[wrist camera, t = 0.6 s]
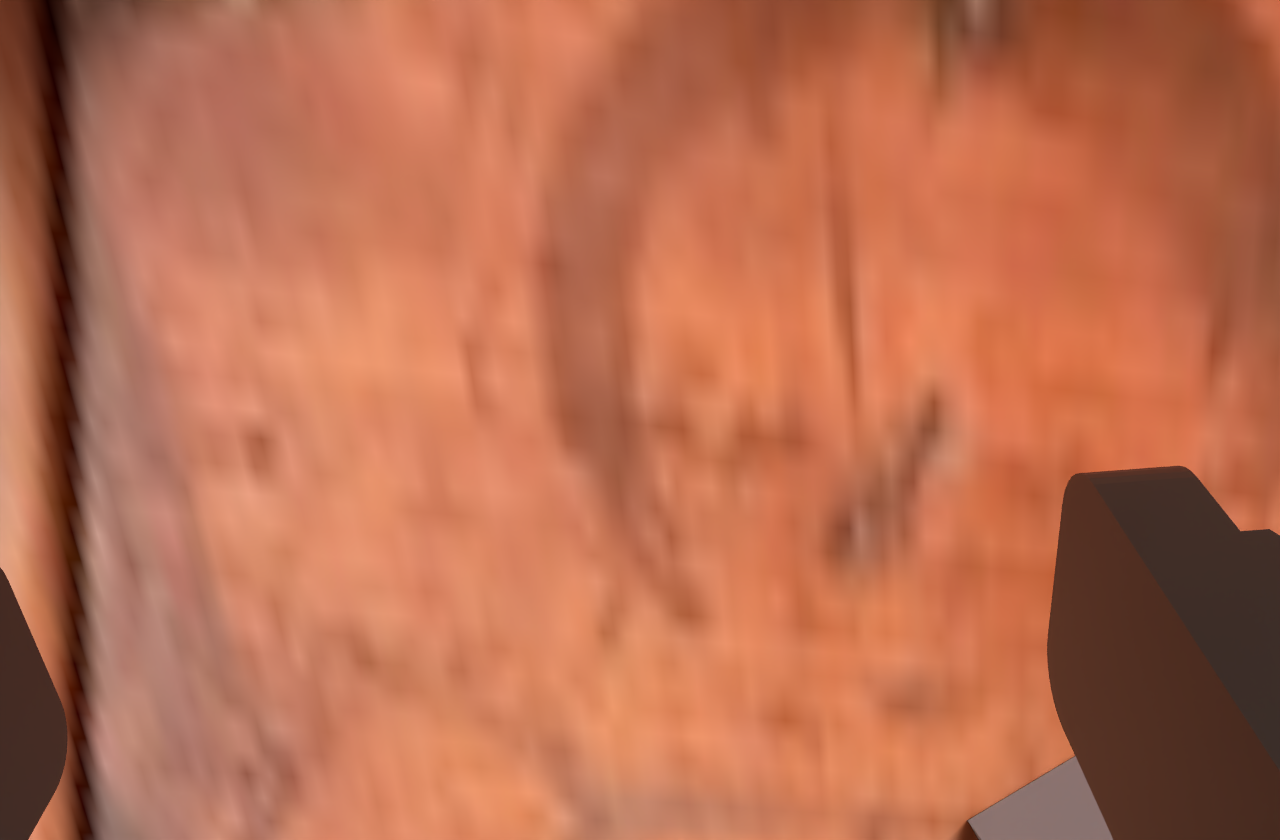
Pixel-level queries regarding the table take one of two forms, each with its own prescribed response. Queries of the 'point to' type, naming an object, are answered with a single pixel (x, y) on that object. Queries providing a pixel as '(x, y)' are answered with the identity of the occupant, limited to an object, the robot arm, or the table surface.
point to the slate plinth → (1046, 810)
